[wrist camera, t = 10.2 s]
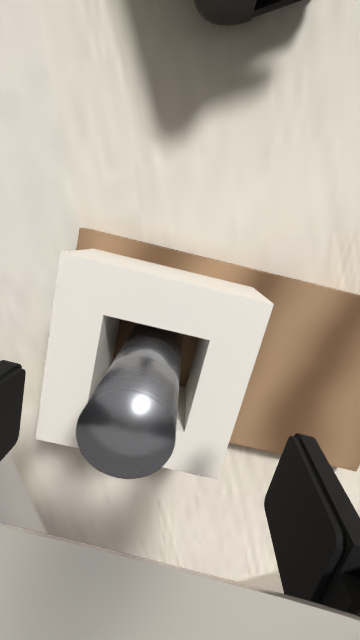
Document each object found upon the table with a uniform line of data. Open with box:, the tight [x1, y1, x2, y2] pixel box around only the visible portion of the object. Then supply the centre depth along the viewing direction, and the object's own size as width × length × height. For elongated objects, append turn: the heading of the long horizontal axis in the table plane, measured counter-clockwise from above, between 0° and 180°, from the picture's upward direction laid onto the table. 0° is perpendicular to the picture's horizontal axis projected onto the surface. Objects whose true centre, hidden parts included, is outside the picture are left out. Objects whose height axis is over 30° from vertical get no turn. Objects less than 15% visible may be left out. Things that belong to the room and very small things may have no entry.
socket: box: [35, 249, 274, 479], centre depth 18 cm, size 10×10×5 cm
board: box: [77, 228, 360, 471], centre depth 21 cm, size 22×12×2 cm, turn 77°
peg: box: [76, 323, 182, 479], centre depth 15 cm, size 3×3×10 cm
